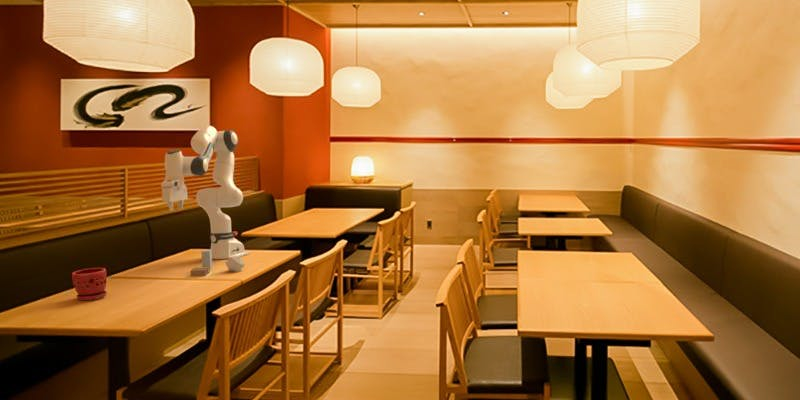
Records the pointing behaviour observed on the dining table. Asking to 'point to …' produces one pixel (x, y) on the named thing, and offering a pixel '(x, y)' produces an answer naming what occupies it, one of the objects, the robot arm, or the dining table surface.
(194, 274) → the base block
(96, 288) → the plant pot
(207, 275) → the mat
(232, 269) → the die
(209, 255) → the column
